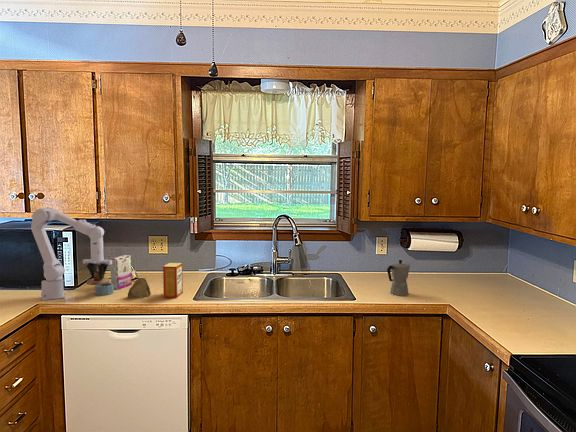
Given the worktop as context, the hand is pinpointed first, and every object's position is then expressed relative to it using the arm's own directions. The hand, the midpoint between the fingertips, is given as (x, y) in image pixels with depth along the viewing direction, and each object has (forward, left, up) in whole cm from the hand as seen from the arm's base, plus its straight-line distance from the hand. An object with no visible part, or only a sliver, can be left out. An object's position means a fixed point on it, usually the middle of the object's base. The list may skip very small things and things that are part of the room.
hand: (98, 278), depth 206 cm
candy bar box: (+12, +15, -9) cm, 21 cm away
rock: (+18, -8, -9) cm, 22 cm away
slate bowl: (+3, +5, -9) cm, 10 cm away
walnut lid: (0, 0, -2) cm, 2 cm away
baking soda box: (+34, -13, -9) cm, 38 cm away
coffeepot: (+140, -59, -9) cm, 152 cm away
